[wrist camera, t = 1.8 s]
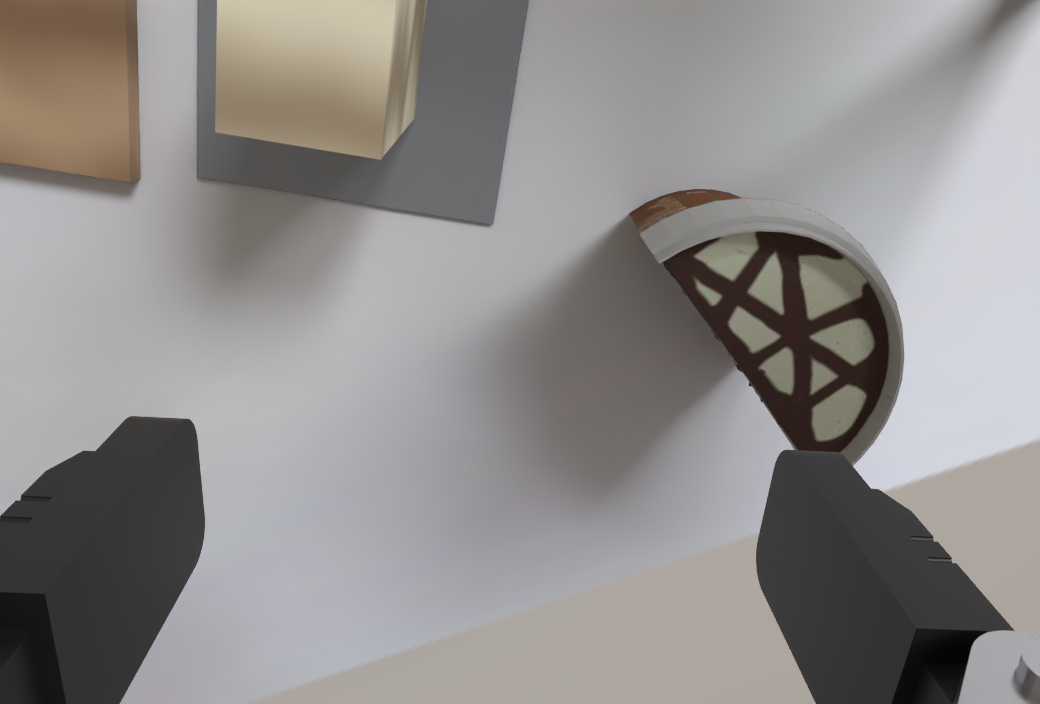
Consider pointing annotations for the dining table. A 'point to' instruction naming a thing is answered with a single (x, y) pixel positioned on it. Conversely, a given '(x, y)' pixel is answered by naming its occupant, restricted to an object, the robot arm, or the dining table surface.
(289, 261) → the dining table surface
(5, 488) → the dining table surface
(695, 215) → the food container
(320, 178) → the tile
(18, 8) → the walnut board
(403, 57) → the birch block
